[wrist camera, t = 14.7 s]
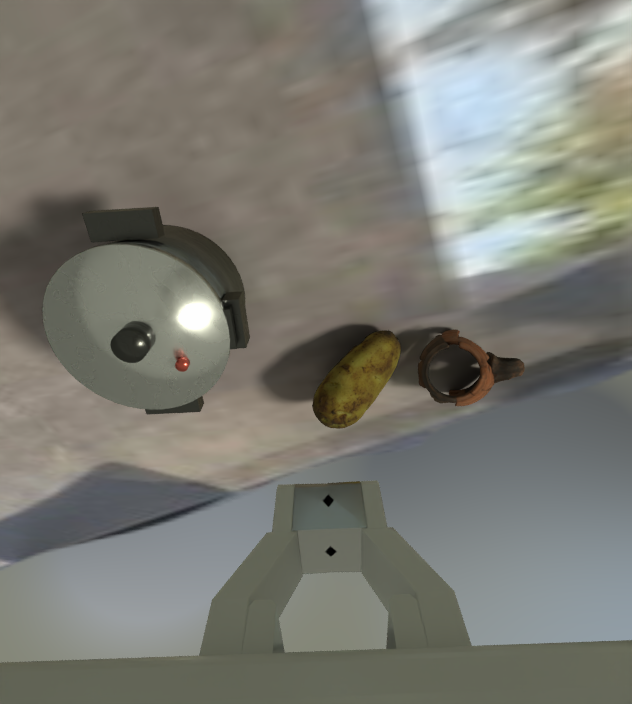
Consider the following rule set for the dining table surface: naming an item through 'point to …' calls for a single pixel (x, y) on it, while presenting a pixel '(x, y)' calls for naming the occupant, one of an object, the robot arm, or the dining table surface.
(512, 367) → the pottery mug
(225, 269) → the pot
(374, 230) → the dining table surface
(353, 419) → the potato
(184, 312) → the lid
